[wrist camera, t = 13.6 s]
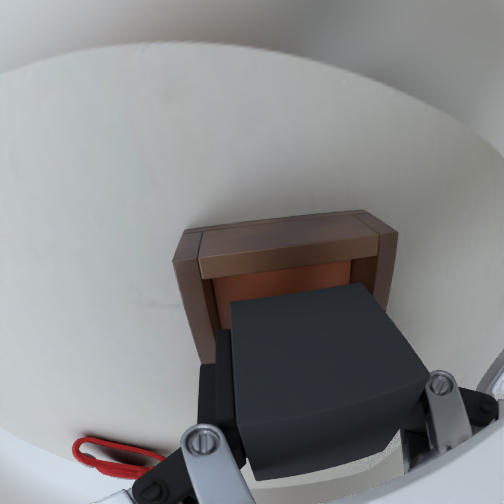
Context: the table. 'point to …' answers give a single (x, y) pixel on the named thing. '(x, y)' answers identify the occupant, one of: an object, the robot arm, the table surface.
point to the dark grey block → (319, 379)
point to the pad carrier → (278, 264)
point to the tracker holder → (110, 467)
